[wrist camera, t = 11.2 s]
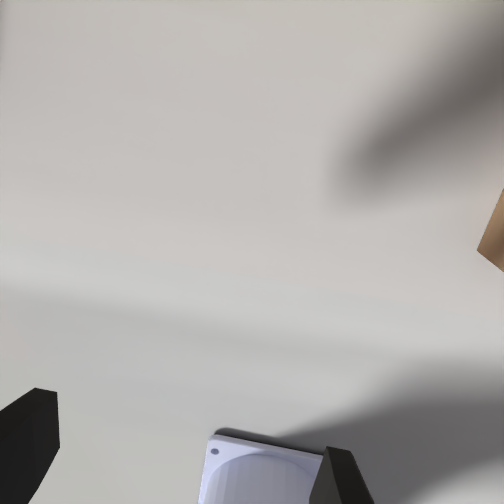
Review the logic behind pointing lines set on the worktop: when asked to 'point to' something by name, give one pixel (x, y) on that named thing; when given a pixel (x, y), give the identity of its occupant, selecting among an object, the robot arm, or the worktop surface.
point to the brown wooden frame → (494, 237)
